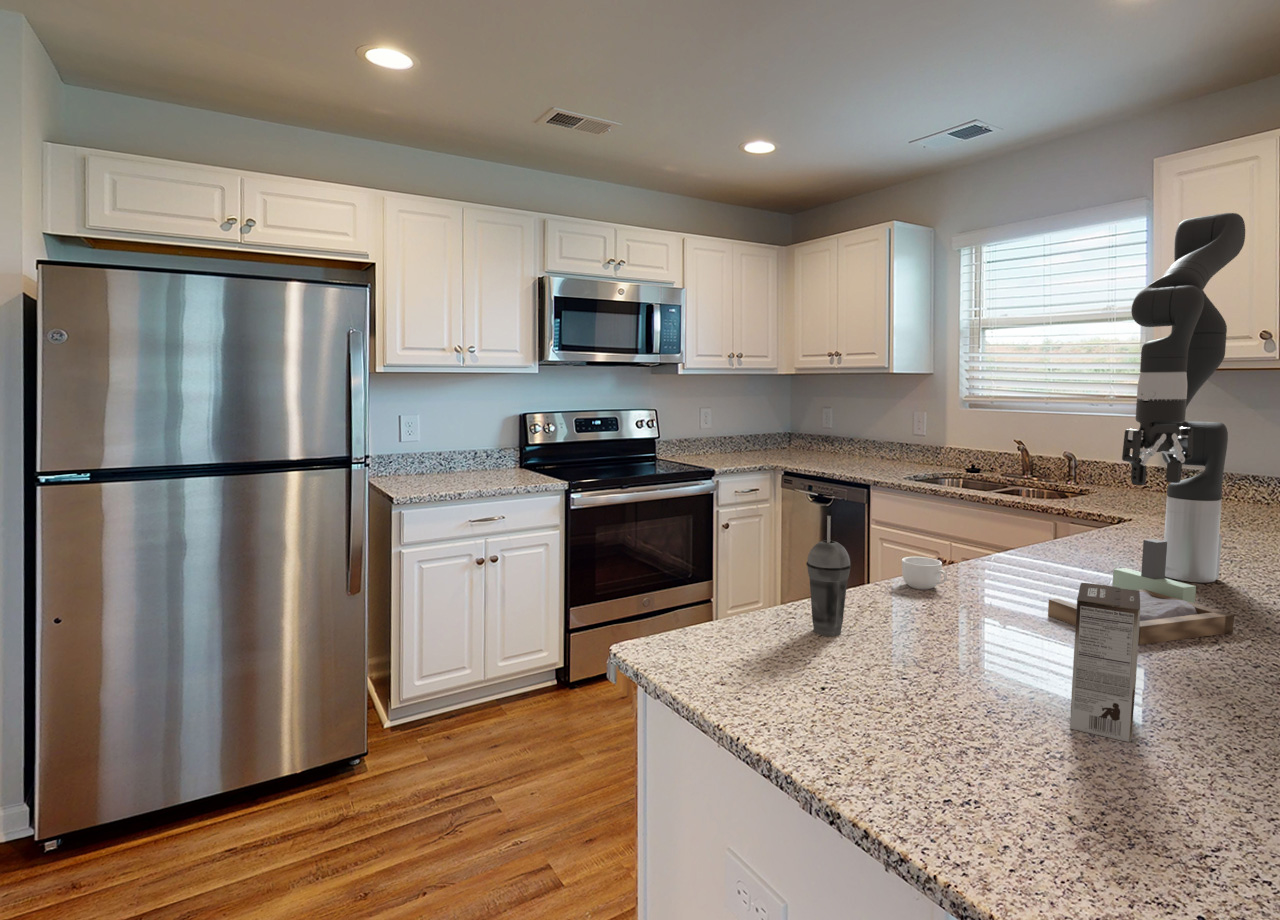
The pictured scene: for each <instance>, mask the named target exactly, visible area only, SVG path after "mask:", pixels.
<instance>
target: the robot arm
mask: <svg viewBox="0 0 1280 920" xmlns="http://www.w3.org/2000/svg"><path fill="white" fill-rule="evenodd" d="M1245 239H1246V224H1245V220H1244V218H1243V217H1242V216H1241V215H1240V214H1239V213H1236V212H1235V213H1234V212H1224V213H1217V214H1211V215H1204V216H1198V217H1193V218H1187V219H1184V220H1182V221H1180V222H1179V224H1178V225H1177V227H1176V231H1175V236H1174V252H1173V253H1174V256H1173V257H1174V258H1173V259H1174V262H1173V263H1172V264H1171V265H1170V266H1169V267H1168V268H1167V269H1166V271H1165V272H1164V274H1163V276H1161V277H1160V278H1157V279H1156V280H1154V281H1153V282H1151V283H1149V284H1147V285H1146V286H1145V287H1144V288H1142V289H1141V290H1140V291H1139V292H1138V293H1137V294H1136V296H1135V298H1134V299H1133V302H1132V304H1131V317H1132V319H1133V320H1134V322H1135V323H1136V324H1137V325H1139V326H1141V327H1144V328H1145V327H1146V328H1159V327H1171V331H1170V334H1168V336H1164V337H1161V338H1158V339H1157V338H1156V339H1153V340H1147V342H1145V343H1143V345H1142V347H1141V352H1140V366H1139V367H1140V368H1139V370H1140V371H1139V378H1138V381H1137V390H1136V391H1137V392H1136V405H1135V406H1136V407H1135V421H1136V422H1137V423H1139V424H1140V425H1139V428H1138V429H1133V428H1129V429H1128V428H1127V429H1125V430H1124V438H1123V446H1122V455H1121V460H1122V461H1123V462H1127V463H1129V464H1131V470H1130V475H1131V476H1130V482H1131V484H1132V485H1134V486H1139V487H1140V486H1145V485H1146V482H1147V480H1146V479H1147V478H1146V477H1147V465H1146V464H1147V463H1148V461H1149V460H1150V458H1151V457H1153V456H1155V455H1156V453H1160V452H1161V456H1162V459H1163V461H1164V462H1165V463H1166V465H1167V466H1166V477H1165V480H1166V482H1167V483H1168V486H1167V489H1166V505H1165V518H1164V519H1165V521H1164V535H1163V541H1166V542H1167V554H1166V568H1165V578H1168V579H1171V580H1173V579H1174V580H1175V581H1176V580H1177V581H1182V582H1191V583H1202V584H1203V583H1213V582H1216V580H1218V579H1219V577H1220V566H1221V565H1220V563H1221V553H1222V551H1221V549H1222V539H1223V537H1222V534H1220V531H1221V530H1220V529H1221V513H1222V501H1223V481H1224V469H1225V463H1226V456H1227V450H1228V443H1229V442H1228V441H1229V435H1228V434H1229V432H1228V429H1227V426H1226V424H1224V422H1221V421H1220V422H1219V421H1217V422H1216V421H1186V409H1187V407H1188V406H1189V405H1190V402H1191V401H1192V399H1193V398H1194V397H1195V395H1196V394H1197V393H1198V391H1199V390H1200V389H1201V388H1202V386H1203V385H1204V384H1205V383H1206V382H1207V381H1208V380H1209V379H1210V377H1212V376H1213V374H1214V373H1215V372H1216V371H1217V370H1218V368H1219V367H1220V366H1221V364H1222V363H1223V361H1224V359H1225V356H1226V349H1227V348H1226V347H1227V346H1226V344H1227V332H1228V328H1227V327H1228V326H1227V322H1226V320H1225V318H1224V317H1223V315H1222V314H1221V312H1220V310H1219V309H1218V308H1217V307H1216V306H1215V304H1214V303H1213V302H1212V301H1211V300H1210V298H1209V297H1208V296H1207V294H1206V293H1205V290H1204V289H1205V288H1206V286H1207V285H1208V282H1209V281H1210V280H1211V279H1212V278H1213V277H1214V276H1215V275H1216V274H1217V273H1219V271H1221V270H1222V269H1223V268H1225V267H1226V266H1227V265H1228V264H1229V263H1231V262H1232V261H1233V260H1234V259H1235V258H1237V256H1238V255H1239V254H1240V253H1241V252H1242V250H1243V247H1244V245H1245V241H1246V240H1245ZM1131 449H1132V454H1130V453H1131ZM1183 466H1197V467H1198V466H1200V467H1204V470H1202V472H1200V473H1198V474H1196V475H1194V476H1192V477H1188V478H1185V479H1182V475H1183V474H1182V471H1183V470H1182V469H1183Z"/></svg>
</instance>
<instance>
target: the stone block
mask: <svg viewBox="0 0 1280 920" xmlns="http://www.w3.org/2000/svg"><path fill="white" fill-rule="evenodd" d="M1196 614H1197V612H1196V610H1195V607H1194V606H1193V605H1190V604H1189V603H1188V602H1186V601H1182V600H1174V599H1159V598H1156V597H1152V596H1150V595H1149V594H1148V593H1146V592H1140V621H1146V620H1155V619H1163V618H1171V617H1179V616H1188V615H1196Z"/></svg>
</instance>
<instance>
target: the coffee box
mask: <svg viewBox="0 0 1280 920" xmlns="http://www.w3.org/2000/svg"><path fill="white" fill-rule="evenodd" d="M1076 605H1077V612H1076V626H1075V630H1074V646H1073V647H1074V649H1073V666H1072V680H1071V681H1072V683H1071V701H1070V702H1071V703H1070V717H1069V718H1070V719H1069V720H1070V723H1069V728H1070V730H1074V731H1078V732H1083V733H1087V734H1091V735H1096V736H1100V737H1105V738H1109V739H1113V740H1118V741H1122V742H1126V743H1130V742H1131V741H1132V732H1133V724H1134V723H1133V722H1134V721H1133V720H1134V712H1135V711H1134V710H1135V709H1134V708H1135V697H1136V685H1137V670H1138V667H1137V666H1138V656H1139V655H1138V654H1139V653H1138V651H1139V645H1138V641H1139V624H1140V592H1139V590H1130V589H1122V588H1118V587H1113V586H1111V585H1106V584H1097V583H1089V582H1080V585H1079V589H1078V594H1077V599H1076Z"/></svg>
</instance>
